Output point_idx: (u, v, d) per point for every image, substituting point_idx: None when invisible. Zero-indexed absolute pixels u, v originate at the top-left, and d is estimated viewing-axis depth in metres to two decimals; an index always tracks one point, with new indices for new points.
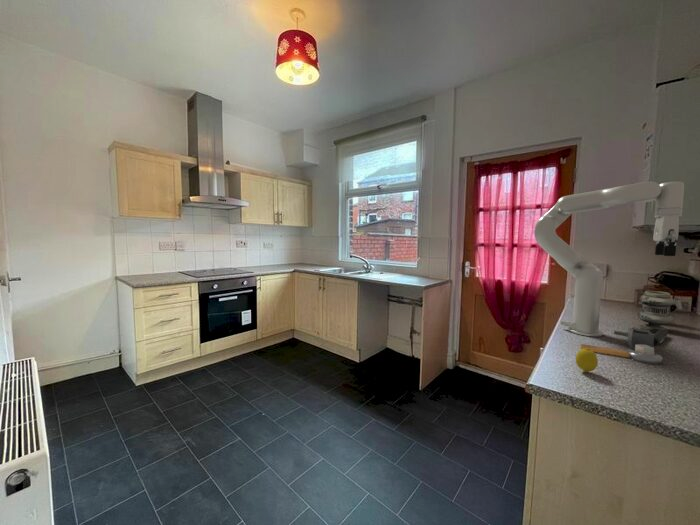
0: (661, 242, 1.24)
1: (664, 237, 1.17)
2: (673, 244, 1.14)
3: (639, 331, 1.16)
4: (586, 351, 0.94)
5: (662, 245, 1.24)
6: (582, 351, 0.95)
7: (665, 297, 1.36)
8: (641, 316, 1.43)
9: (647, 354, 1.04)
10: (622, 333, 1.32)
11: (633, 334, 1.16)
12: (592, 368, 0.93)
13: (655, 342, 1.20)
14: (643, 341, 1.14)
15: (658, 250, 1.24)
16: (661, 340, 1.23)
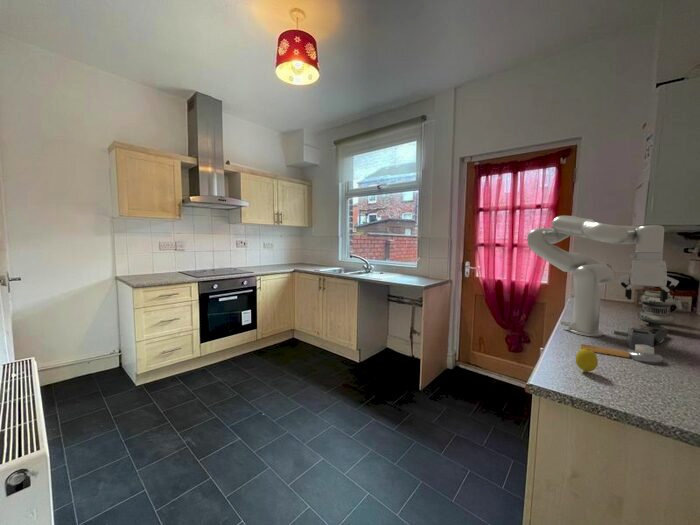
0: (627, 285, 1.19)
1: None
2: None
3: (639, 331, 1.16)
4: (586, 351, 0.94)
5: None
6: (582, 351, 0.95)
7: None
8: (641, 316, 1.43)
9: (647, 354, 1.04)
10: (622, 333, 1.32)
11: (633, 334, 1.16)
12: (592, 368, 0.93)
13: (655, 342, 1.20)
14: (643, 341, 1.14)
15: None
16: (661, 340, 1.23)
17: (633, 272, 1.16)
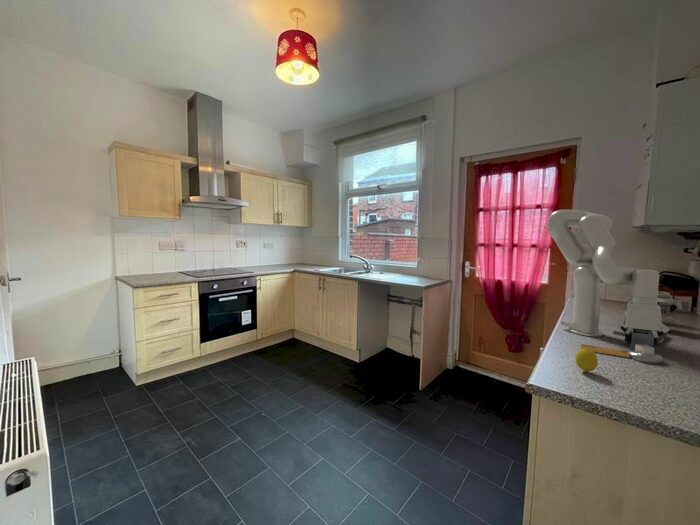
0: None
1: None
2: None
3: (639, 331, 1.16)
4: (586, 351, 0.94)
5: (629, 333, 1.19)
6: (582, 351, 0.95)
7: (665, 297, 1.37)
8: None
9: (647, 354, 1.04)
10: (621, 333, 1.32)
11: (633, 334, 1.16)
12: (592, 368, 0.93)
13: None
14: (643, 341, 1.14)
15: None
16: (660, 340, 1.23)
17: (628, 315, 1.17)
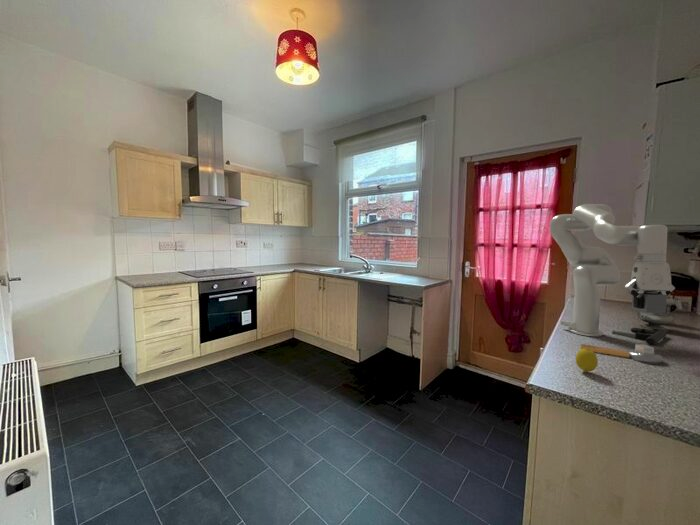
0: None
1: None
2: None
3: (651, 293, 1.05)
4: (586, 351, 0.94)
5: None
6: (582, 351, 0.95)
7: None
8: (641, 316, 1.43)
9: (647, 354, 1.04)
10: (620, 333, 1.32)
11: (648, 296, 1.04)
12: (592, 368, 0.93)
13: (652, 342, 1.20)
14: (657, 303, 1.04)
15: None
16: (659, 340, 1.23)
17: (642, 276, 1.05)
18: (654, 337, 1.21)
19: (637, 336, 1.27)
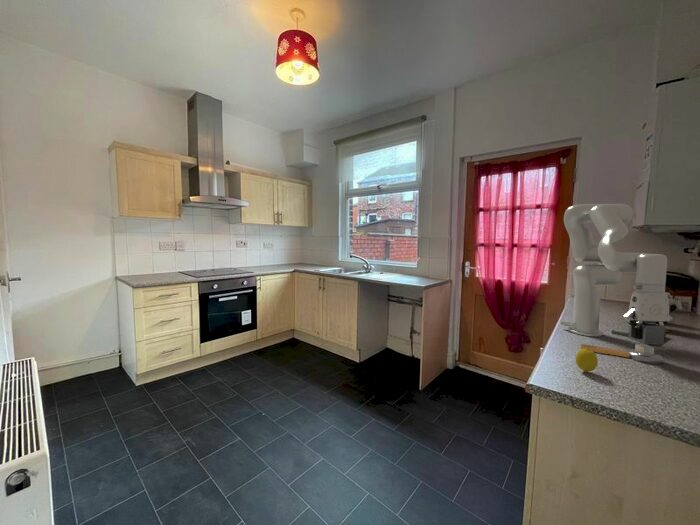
0: None
1: None
2: None
3: (650, 323, 1.03)
4: (586, 351, 0.94)
5: None
6: (582, 351, 0.95)
7: None
8: None
9: (647, 354, 1.04)
10: (619, 333, 1.33)
11: (647, 328, 1.02)
12: (592, 368, 0.93)
13: None
14: (655, 334, 1.02)
15: None
16: None
17: (641, 307, 1.02)
18: None
19: None
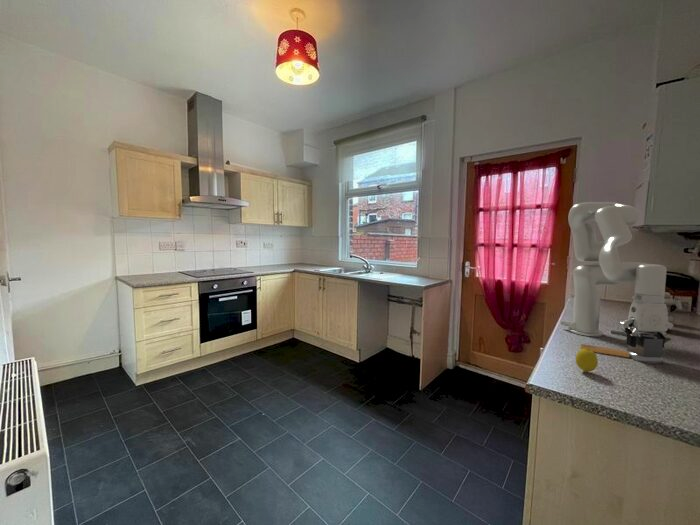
0: None
1: None
2: None
3: (648, 336, 1.03)
4: (586, 351, 0.94)
5: None
6: (582, 351, 0.95)
7: (665, 297, 1.36)
8: None
9: None
10: (618, 333, 1.33)
11: (645, 341, 1.03)
12: (592, 368, 0.93)
13: None
14: (653, 347, 1.03)
15: None
16: None
17: (640, 317, 1.03)
18: None
19: None
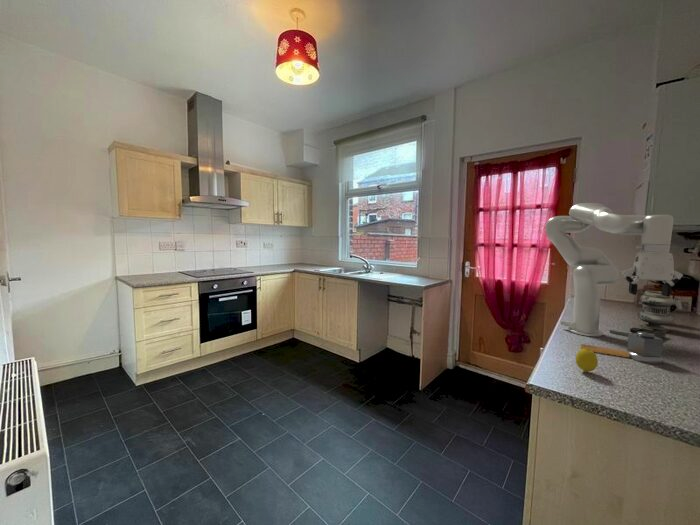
0: None
1: None
2: None
3: (648, 336, 1.03)
4: (586, 351, 0.94)
5: None
6: (582, 351, 0.95)
7: (665, 297, 1.36)
8: (641, 316, 1.43)
9: None
10: (617, 332, 1.33)
11: (645, 341, 1.03)
12: (592, 368, 0.93)
13: None
14: (653, 347, 1.03)
15: None
16: None
17: (641, 265, 1.07)
18: None
19: None
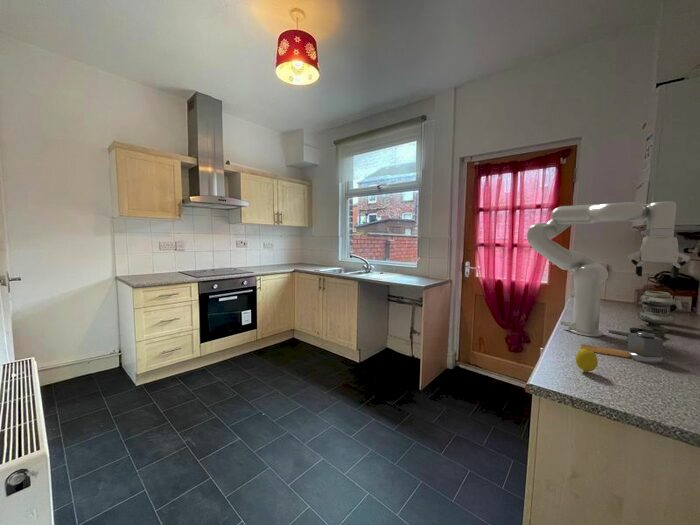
0: (638, 263, 1.19)
1: None
2: None
3: (648, 336, 1.03)
4: (586, 351, 0.94)
5: None
6: (582, 351, 0.95)
7: (665, 297, 1.36)
8: (641, 316, 1.43)
9: None
10: (616, 332, 1.34)
11: (645, 341, 1.03)
12: (592, 368, 0.93)
13: None
14: (653, 347, 1.03)
15: None
16: None
17: (644, 249, 1.16)
18: None
19: None
